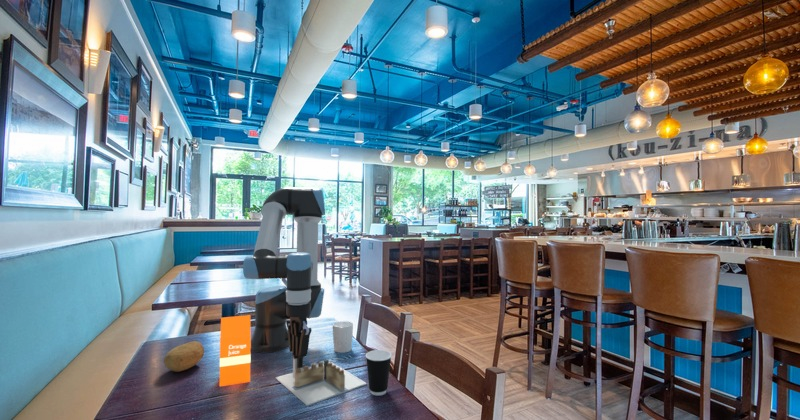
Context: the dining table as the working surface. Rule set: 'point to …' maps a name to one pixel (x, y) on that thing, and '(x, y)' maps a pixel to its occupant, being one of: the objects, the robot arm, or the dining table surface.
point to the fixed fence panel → (334, 375)
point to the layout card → (319, 387)
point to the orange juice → (235, 350)
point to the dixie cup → (378, 371)
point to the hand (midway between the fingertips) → (297, 376)
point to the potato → (184, 356)
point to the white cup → (342, 336)
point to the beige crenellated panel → (309, 374)
